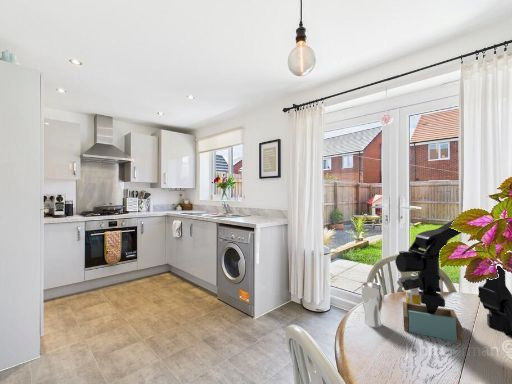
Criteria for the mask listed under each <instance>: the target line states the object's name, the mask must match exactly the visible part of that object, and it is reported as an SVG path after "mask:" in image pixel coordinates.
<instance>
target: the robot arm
mask: <svg viewBox="0 0 512 384" xmlns="http://www.w3.org/2000/svg"><path fill="white" fill-rule="evenodd" d="M453 221H454V219H452V220H451V221H449V222H447V223H445V224H443V225H441V226H439V227H438V228H435V229H429V230H425V231H422V232H420V233H417V234H416V235H415V239H414V240H413V242H412V244H411V245H410V246H409V248H408V250H407V251H404V250H399V251H398V254H397V256H396V257H395V260H394V261H395V266H396V268H397V270H398V271H399V272H400V273H411V272H412V273H413V272H414V273H415V272H417V274H416V275H410V276H404V277H402V278H400V283H401V285H402V287H403V290H404V291H406V290H409V289H415V288H419V289H418V290H419V294H420V300H421V305H425V306H426V308H427V312H428V314H435V312H436V310H437V308H445V307H446V299H445V297H444V295H442V294H441V293H442V290H441V284H440V283H441V282H440V281H441V280H442V279H441V276H440V258H439V252H441V250H442V249H443V248H442V247H443V246H444V245H446V244H448V242H449V241H451V239H453V238H455V237H457V236H458V235H461V234H462V233H461V232H458V231H456V230H454V229H451V228H449V227H450V226H451V224H452V222H453ZM446 246H447V245H446ZM441 248H442V249H441ZM497 270H498V274H499V278H497V279H493V280H489V279H486V278H485V283H484V284H483V285H482V286H480V285H478V290H477V291H478V296H477V297H478V298H479V300H480V303H481V304H482V306H483V309H485V310H488V313H487V314H486V324H487V326H488V328H490V329H493V330H496V331H498V332H502V333H504V335H505V336H507V337H512V293H511V291H510V290H509V288H508V286H507V285H506V283H507V282H506V270H505V271H504V270H503V269H502V268H501V267H500V266H497Z"/></svg>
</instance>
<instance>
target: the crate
mask: <svg viewBox="0 0 512 384" xmlns="http://www.w3.org/2000/svg"><path fill="white" fill-rule="evenodd" d="M409 310H411V311H416V312H422V313H428V312H427V308H426V304H421V305H419V304H413V303H406V301H403V302H402V316H403V331H404V332H409ZM434 315H440V316H446V317H452V318H455V319H456V338H457V341H456V342H458V343H463V342H464V341H463V327H462V324H461V322H460V320H459V318H458V316H457V314H456V311H455V309H449V308H445V307H438V308H437V310H436V312H435V314H434Z"/></svg>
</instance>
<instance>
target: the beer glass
mask: <svg viewBox="0 0 512 384" xmlns="http://www.w3.org/2000/svg"><path fill="white" fill-rule="evenodd" d="M361 285H362V286H361V299H362V301H361V302H362V307H363V311H364V321H363V322H364V325H366V326H368V327H370V328H376V329H377V328H381V327H382V325H383V324H382V319H381V317H382V316H381V315H382V308H383V302H384V299H383V289H382V287H383V286H382V284H379V283H377V282H373V281H372V282H371V281H369V282H368V281H367V282H362V284H361Z"/></svg>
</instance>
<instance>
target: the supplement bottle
mask: <svg viewBox="0 0 512 384" xmlns="http://www.w3.org/2000/svg"><path fill="white" fill-rule="evenodd" d="M419 291H420V290H419V288H415V289H409V290H405V302H406V303H413V304H419V305H422V303H421V300H420V294H419Z"/></svg>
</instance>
